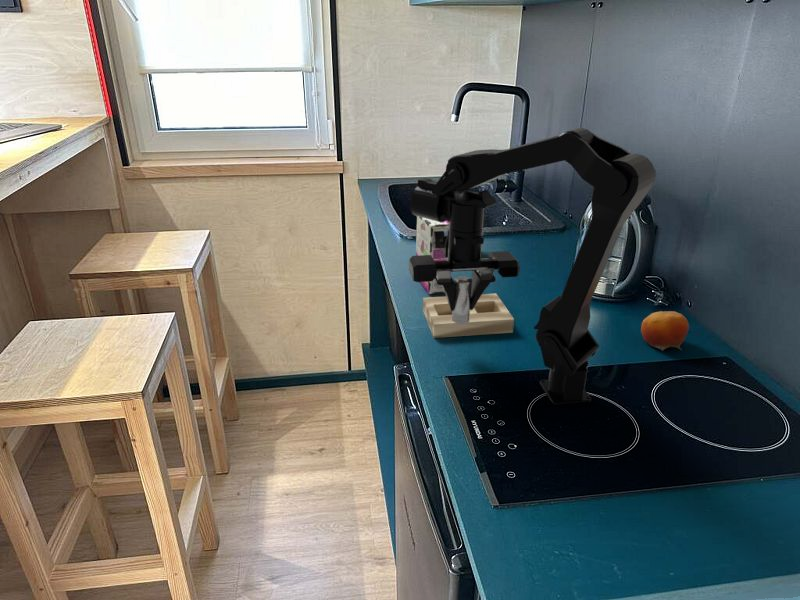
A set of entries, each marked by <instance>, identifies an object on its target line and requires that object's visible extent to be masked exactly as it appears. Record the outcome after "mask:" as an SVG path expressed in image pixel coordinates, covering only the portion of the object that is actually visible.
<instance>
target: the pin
mask: <svg viewBox="0 0 800 600" xmlns="http://www.w3.org/2000/svg"><path fill="white" fill-rule="evenodd" d="M453 281H454V310H453V311H452V321H453V322H455V323H459V324H464V323H467V322H469V318H470V302H471V287H472V277H469V276H465V275H459V276H456V277H454V278H453Z"/></svg>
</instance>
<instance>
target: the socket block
mask: <svg viewBox="0 0 800 600" xmlns="http://www.w3.org/2000/svg"><path fill="white" fill-rule="evenodd" d="M422 312H423V314H424V316H425V319H426V323H427V325H428V327H429V329H430V331H431V335H432V337H433V339H436V338H437V339H438V338H450V337H452V338H453V337H454V338H455V337H463V336H465V337H468V336H479V335H480V336H481V335H497V334H509V333H510V334H511V333H514V324H515V319H514V317H513V315H512V314H511V313H510V311H509V310H508V308H507V307H506V305H505V304H504V302H503V301H502V300H501V298H500V297H499V295H498V294H497V293H484V294H483V293H482V295H481V296H480V298H479V300H478V301H477V303H476V305H475V306H474V308H473V310H470V318H469V322H467V323H464V324H459V323H455V322H453V321H452V311H451V310H450V307H449V304H448V300H447V297H446V295H445V296H432V297H431V296H430V297H429V296H428V297H422Z"/></svg>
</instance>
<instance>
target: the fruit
mask: <svg viewBox="0 0 800 600" xmlns="http://www.w3.org/2000/svg"><path fill="white" fill-rule="evenodd" d="M689 328H690V324H689V321H688V319H687V318H686V317H685V316H684V315H683V314H682V313H679V312H677V311H674V310H673V311H667V310H666V311H665V310H664V311H662V310H659V311H656V312H652V313H650V314H649V315H648V316H646V317H645V318H644V319H643V321H642V322H641V328H640V333H641V335H642V339H643V340H644V341H645V342H646V343H647V344H648V345H649V346H651V347H654V348H656V349H659V350H661V351H662V352H664V350H666V349H668V348H677V349H679V350H680V351H682V350H683V349H682V348H681V347H680V346H681V345H682V344H683V342H684V341H685V338H686V337H687V334H688V331H689ZM682 352H683V351H682Z"/></svg>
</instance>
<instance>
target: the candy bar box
mask: <svg viewBox="0 0 800 600" xmlns="http://www.w3.org/2000/svg"><path fill="white" fill-rule="evenodd" d="M448 229H449V221H448V220H446V221H445V222H438V221H434V220H430V219H427V218H423V217H419V216H416V233H415V235H416V237H415V238H416V239H415V240H416V242H415V243H416V245H415V256H420V255H431V256H432V258H433V260H434V261H448V258H445V256H444V253H442V248H439V249H434V248H433V246H432V235H433V231H444V235H445V236H447V235H448ZM419 283H420V285H421V286H422V287H423V289H424V290H425V291H426V293H427V294H428V295H437V294H438V295H440V294H445V291H444V288H443V285H438V284H437V283H436V281H435V279H434V280H433V281H429V282H419Z"/></svg>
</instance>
